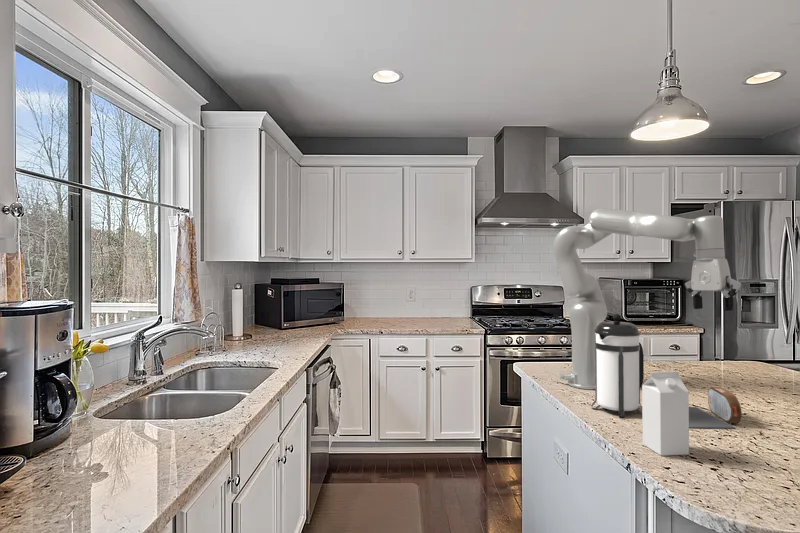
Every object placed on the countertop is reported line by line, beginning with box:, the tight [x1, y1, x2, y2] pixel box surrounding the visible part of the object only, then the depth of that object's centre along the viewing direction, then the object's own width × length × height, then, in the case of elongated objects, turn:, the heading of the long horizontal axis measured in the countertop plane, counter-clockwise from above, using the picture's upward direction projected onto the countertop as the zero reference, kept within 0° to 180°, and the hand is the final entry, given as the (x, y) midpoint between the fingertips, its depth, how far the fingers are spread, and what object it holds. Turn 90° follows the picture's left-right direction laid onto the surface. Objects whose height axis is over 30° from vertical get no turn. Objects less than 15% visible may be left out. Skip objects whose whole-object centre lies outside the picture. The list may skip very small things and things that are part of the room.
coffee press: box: [591, 313, 645, 419], centre depth 143 cm, size 17×16×30 cm
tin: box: [707, 385, 743, 424], centre depth 134 cm, size 15×3×8 cm, turn 168°
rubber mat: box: [689, 406, 736, 430], centre depth 135 cm, size 12×18×1 cm
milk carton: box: [641, 371, 690, 457], centre depth 112 cm, size 7×7×19 cm
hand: (712, 309), depth 144 cm, fingers open, 9 cm apart
